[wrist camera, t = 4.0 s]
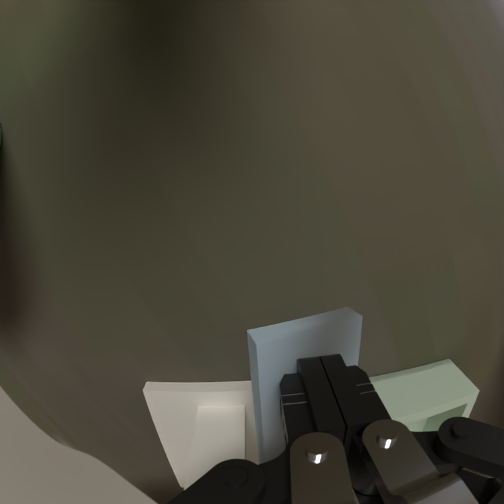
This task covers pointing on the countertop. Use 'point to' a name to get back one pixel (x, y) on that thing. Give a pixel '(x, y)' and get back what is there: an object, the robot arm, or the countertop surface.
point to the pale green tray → (426, 395)
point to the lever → (293, 363)
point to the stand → (203, 424)
